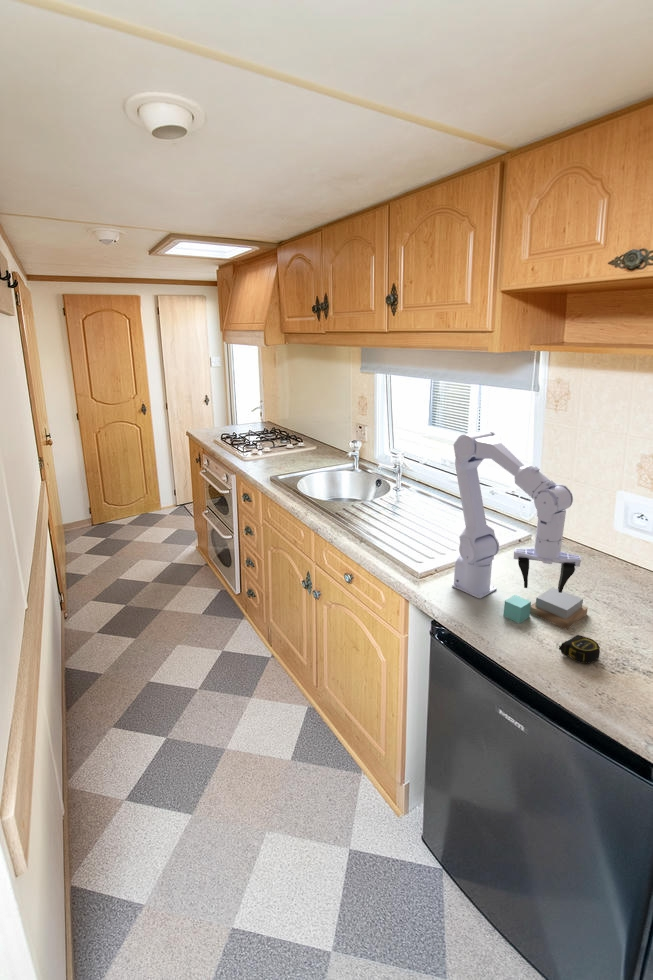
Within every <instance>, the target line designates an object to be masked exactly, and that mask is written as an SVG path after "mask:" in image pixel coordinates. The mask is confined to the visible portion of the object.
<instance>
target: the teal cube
mask: <svg viewBox="0 0 653 980" xmlns="http://www.w3.org/2000/svg"><path fill="white" fill-rule="evenodd" d="M503 604H504V606H503V617H505V618H507V619H508V620H511V621H513V622H516V623H518V624H521V623H523V622H524V621H526V620H527V619H528V618H530V615H531V613H530V607H531V605H532V601H531V600H529V599H526V598H523V597H521V596H518V595H517V594H514V595H512V596H510V597H509V598H507V599H506V600H504V603H503Z"/></svg>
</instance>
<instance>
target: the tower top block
mask: <svg viewBox="0 0 653 980" xmlns="http://www.w3.org/2000/svg"><path fill="white" fill-rule="evenodd" d="M535 602H536V605H535V606H536V607H538V608H541V609H543V610H545V611H548V612H550V613H552V614H555V615H557V616H559V617H562V618H564V619H567V618H568V617H570V616H571V615H572V614H574V613H575V612H577V611H578V610H579V609H581V608H582V606H583V603H584V599H583V598H582V597H579V596H576V595H574V594H571V593H569V592H566V591H564V590H562V593H559V592H558V588H556V587H553V586H552V587H551V588H549V589H548V590H546V591H545V592H543V593H542V594H539V595H538V596H537V597H535Z"/></svg>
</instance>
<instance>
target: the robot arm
mask: <svg viewBox="0 0 653 980" xmlns="http://www.w3.org/2000/svg"><path fill="white" fill-rule="evenodd" d="M453 450H454V456H455V460H454V466H455V471H456V476H457V477H456V479H457V484H458V490H459V496H460V502H461V507H462V512H463V519H464V523H465V524H464V525H465V528H464V529H463V531H462V532H461V534H460V535H459V537H458V538H459V548H458V550H459V554H460V555H459V556H458V557H457V559H456V561H455V564H454V574H453V575H454V576H453V583H452V584H451V586H452V587H453V588H455V589H457V590H458V591H459V590H460V591H461V592H463V593H466V594H468V595H470V596H473V597H475V598H477V599H482V598H484V597H485V596H487V595H489V594H491V593H493V592H494V591H496V590H497V587H496V586H494V585H492V584H491V578H492V568H493V567H492V565H493V560H495V556H497V554H498V553H499V552H500V544H499V543H500V542H499V541H498V540H499V539H497V536H496V534H495V530H494V529H493V528H492V527H491V526H489V525H488V524H487V519H486V514H485V509H484V502H483V496H482V491H481V484H480V478H479V472H478V468H479V466H480V465H481V463H482V462H483V461H484V459H489V460H492V461H493V462H494V463H496V464H497V465H499V466H500V467H501V468H502V469H504V470H506V472H508V473H509V474H511V476H514V484H515V485H516V486H518V487H519V489H521V490H522V491H523V492H524V493H525V494H526V495H528V496H529V498H531V499H532V500H533V503H534V507H535V508H536V512H537V513H536V517H537V523H536V533H535V541H534V548H514V549H513V559H514V560H518V562H517V564H518V567H519V569H520V572H521V575H522V578H523V588H524V589H528V587H529V586H528V585H529V584H528V582H529V578H528V577H529V571H530V561H537V562H542V564H548V565H552V564H560V575H559V580H558V583H557V584H558V586H557V589H558V592H559V593H562V591H564V587H565V585H566V583H567V582H568V581H569V579H570V578H571V577H572V576H573V575H574V573H575V571H576V567H578V568H579V567H581V562H582V557H581V555H577V554H572V553H567V552H563V551H561V550H562V545H563V536H564V530H565V529H564V528H565V522H566V516H567V515H566V514H567V509H569V508H570V507H571V506H572V505H573V502H574V498H573V493H572V492H571V490H570V489H569V488H568V487H567V486H566V485H564V484H557V483H555V482H554V481H553V480H551V479H549V477H547V476H545V474H543V473H542V472H541V471H540V468H539V467H538V466H533V465H527V466H526V465H525V464H524V463H523V462H521V461H520V459H518V458H517V457H516V455H514V454H513V453H512V452H511V451H510V450H509V449H508V448H507V447H506V446H505V444H503V443H502V439H501V437H500V436H498V435H496V434H495V432H494V431H493V430H489V429H485V430H483V431H478V432H473V433H467V434H465V433H464V434H461V435H459V436H458V437H457V439H456V440H455V442H454V443H453Z"/></svg>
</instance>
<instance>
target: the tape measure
mask: <svg viewBox="0 0 653 980" xmlns="http://www.w3.org/2000/svg"><path fill="white" fill-rule="evenodd" d="M558 650H560V652H561V654H562V655H564V656H567V657H569V658H571V660H573V661H576V662H578V663H582V664H593V663H595V662H597V660H598V659H599V658H600V653H601V652H600V651H601V648H600V644H599V643H598V642H597V641H595V640H594V639H593V638H589V637H586V636H583V635H581V634H576V635H575V636H573V637H572V638H570V639H568V640H565V641H564V642H562V643H561V645H558Z"/></svg>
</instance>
